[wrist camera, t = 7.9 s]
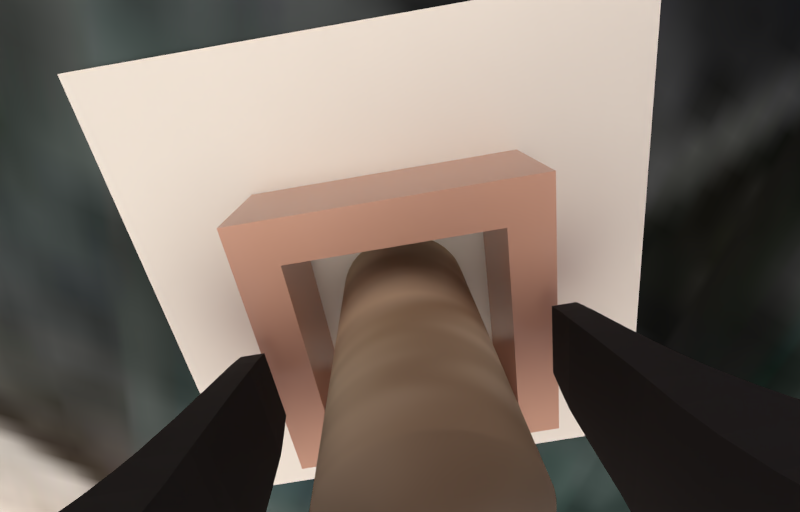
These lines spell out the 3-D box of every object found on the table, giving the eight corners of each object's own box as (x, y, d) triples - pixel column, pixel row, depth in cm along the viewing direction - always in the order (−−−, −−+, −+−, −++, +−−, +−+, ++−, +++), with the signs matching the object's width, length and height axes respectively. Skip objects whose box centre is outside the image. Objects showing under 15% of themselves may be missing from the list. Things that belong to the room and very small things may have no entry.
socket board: (641, -26, 12) (760, -71, 8) (615, 411, 18) (676, 496, 14) (81, 74, 12) (-48, 74, 8) (249, 469, 18) (218, 567, 15)
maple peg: (481, 253, 14) (600, 457, 6) (440, 351, 15) (499, 609, 8) (363, 219, 13) (344, 403, 6) (331, 325, 15) (285, 581, 7)
